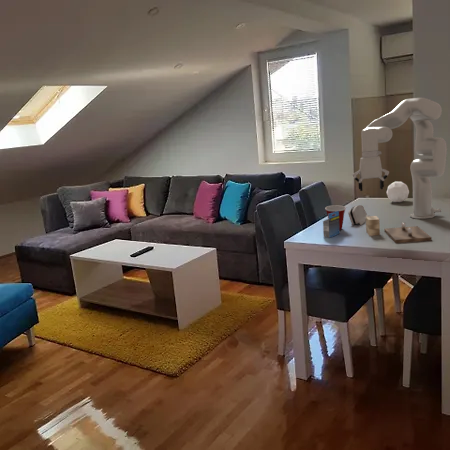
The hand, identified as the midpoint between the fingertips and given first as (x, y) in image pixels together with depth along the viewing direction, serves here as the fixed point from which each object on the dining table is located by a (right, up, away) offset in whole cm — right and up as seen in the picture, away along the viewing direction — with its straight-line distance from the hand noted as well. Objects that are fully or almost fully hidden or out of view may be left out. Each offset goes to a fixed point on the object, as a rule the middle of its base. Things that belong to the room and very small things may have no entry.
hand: (371, 189), depth 241 cm
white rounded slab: (+3, -16, +32) cm, 36 cm away
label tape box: (-17, -23, +9) cm, 30 cm away
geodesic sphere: (+39, -3, +72) cm, 82 cm away
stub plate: (+15, -22, -5) cm, 28 cm away
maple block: (+2, -22, +5) cm, 22 cm away
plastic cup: (-12, -20, +20) cm, 31 cm away
